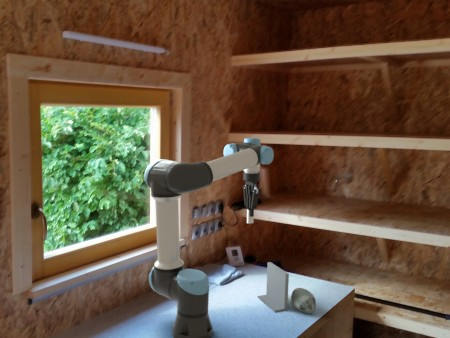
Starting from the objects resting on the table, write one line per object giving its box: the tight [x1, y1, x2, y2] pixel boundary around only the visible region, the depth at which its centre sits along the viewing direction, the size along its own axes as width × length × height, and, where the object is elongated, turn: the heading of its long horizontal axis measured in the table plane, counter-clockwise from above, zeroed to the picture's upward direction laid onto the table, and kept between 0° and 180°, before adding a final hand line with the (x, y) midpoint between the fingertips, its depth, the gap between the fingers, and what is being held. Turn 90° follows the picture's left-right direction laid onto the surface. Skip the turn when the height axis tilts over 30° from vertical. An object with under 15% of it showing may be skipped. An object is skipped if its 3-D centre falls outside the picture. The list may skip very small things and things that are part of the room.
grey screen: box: [257, 261, 290, 313], centre depth 201 cm, size 6×16×16 cm, turn 23°
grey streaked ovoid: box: [290, 287, 317, 315], centre depth 197 cm, size 14×10×10 cm
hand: (250, 222), depth 212 cm, fingers closed
